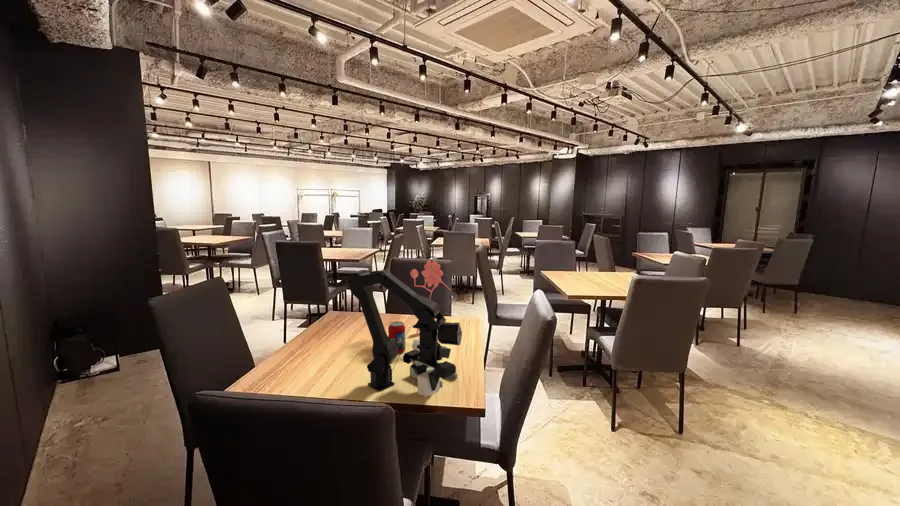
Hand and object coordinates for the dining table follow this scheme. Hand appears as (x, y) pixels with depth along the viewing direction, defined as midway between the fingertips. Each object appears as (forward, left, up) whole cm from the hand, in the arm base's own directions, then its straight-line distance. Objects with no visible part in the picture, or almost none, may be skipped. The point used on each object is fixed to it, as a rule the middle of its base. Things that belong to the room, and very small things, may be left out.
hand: (428, 388), depth 121 cm
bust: (+20, +23, -2) cm, 31 cm away
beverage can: (+14, +33, -1) cm, 36 cm away
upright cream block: (0, 0, -1) cm, 1 cm away
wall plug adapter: (+8, +6, -1) cm, 10 cm away
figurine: (+38, +36, -1) cm, 53 cm away
